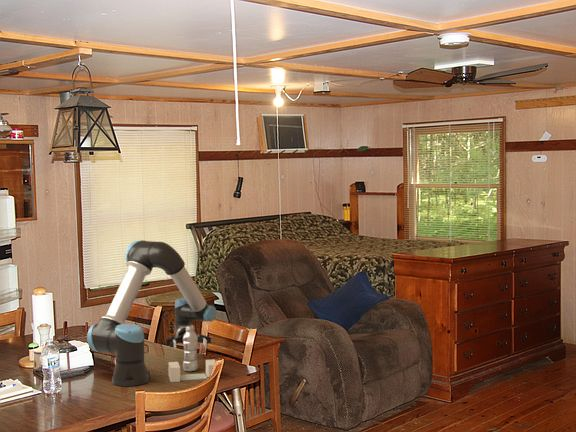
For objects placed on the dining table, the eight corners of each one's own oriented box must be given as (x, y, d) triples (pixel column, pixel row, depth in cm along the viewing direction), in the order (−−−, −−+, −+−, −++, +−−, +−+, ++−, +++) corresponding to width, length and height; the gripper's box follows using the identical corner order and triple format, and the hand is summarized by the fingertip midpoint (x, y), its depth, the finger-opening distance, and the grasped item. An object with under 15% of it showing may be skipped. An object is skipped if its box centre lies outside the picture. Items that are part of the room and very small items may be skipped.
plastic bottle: (183, 369, 343) (183, 324, 342) (199, 369, 343) (198, 324, 342) (181, 372, 337) (180, 327, 336) (196, 372, 337) (196, 327, 335)
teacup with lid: (35, 367, 347) (35, 341, 347) (56, 366, 348) (56, 341, 348) (30, 374, 335) (29, 348, 335) (51, 373, 336) (51, 347, 336)
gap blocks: (168, 376, 332) (168, 362, 331) (214, 372, 336) (214, 359, 336) (170, 382, 322) (170, 367, 322) (218, 378, 327) (218, 364, 326)
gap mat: (179, 375, 332) (179, 374, 332) (204, 374, 334) (204, 373, 334) (181, 380, 324) (181, 379, 324) (207, 379, 327) (207, 378, 327)
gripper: (211, 341, 366) (218, 351, 346) (158, 344, 360) (162, 355, 340) (211, 325, 366) (218, 335, 345) (158, 328, 360) (162, 338, 339)
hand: (190, 344), depth 343 cm, fingers open, 13 cm apart
